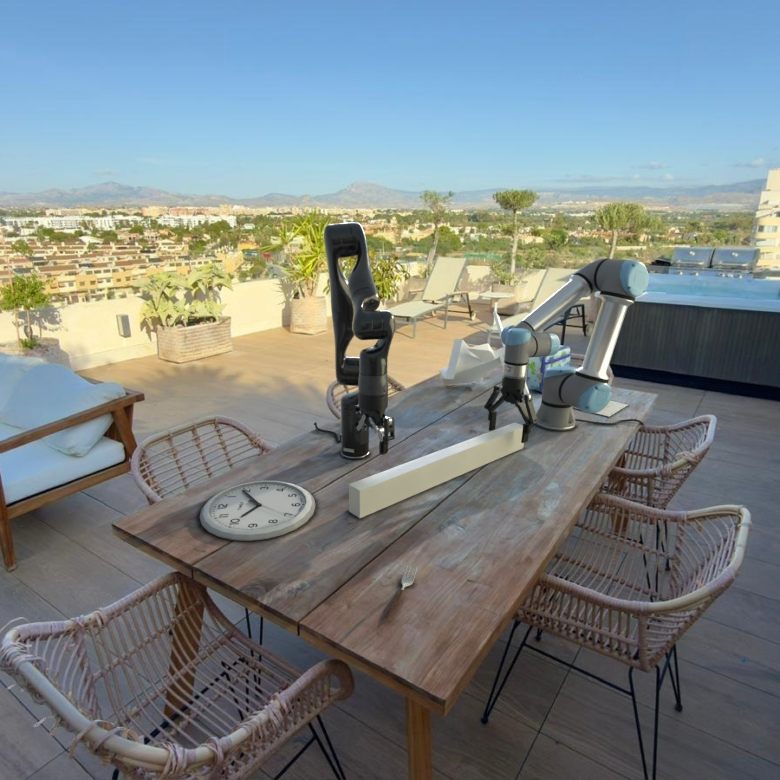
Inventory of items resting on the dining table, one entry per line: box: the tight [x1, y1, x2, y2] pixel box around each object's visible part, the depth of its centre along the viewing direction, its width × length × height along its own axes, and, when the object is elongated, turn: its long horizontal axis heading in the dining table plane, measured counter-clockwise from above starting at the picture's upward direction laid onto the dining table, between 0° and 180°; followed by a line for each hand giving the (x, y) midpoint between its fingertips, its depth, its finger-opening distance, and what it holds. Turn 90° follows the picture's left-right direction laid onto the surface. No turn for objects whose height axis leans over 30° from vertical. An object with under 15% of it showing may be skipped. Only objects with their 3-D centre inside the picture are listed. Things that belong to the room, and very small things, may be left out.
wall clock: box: [199, 480, 316, 542], centre depth 140 cm, size 30×2×30 cm
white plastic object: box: [438, 310, 530, 394], centre depth 245 cm, size 37×45×31 cm
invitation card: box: [573, 400, 629, 418], centre depth 226 cm, size 21×1×15 cm
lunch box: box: [526, 344, 572, 394], centre depth 248 cm, size 26×11×21 cm, turn 135°
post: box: [348, 422, 525, 519], centre depth 160 cm, size 72×5×8 cm, turn 131°
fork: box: [386, 563, 418, 620], centre depth 108 cm, size 3×16×2 cm, turn 160°
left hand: (372, 448), depth 137 cm, fingers open, 8 cm apart
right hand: (507, 435), depth 178 cm, fingers open, 13 cm apart
